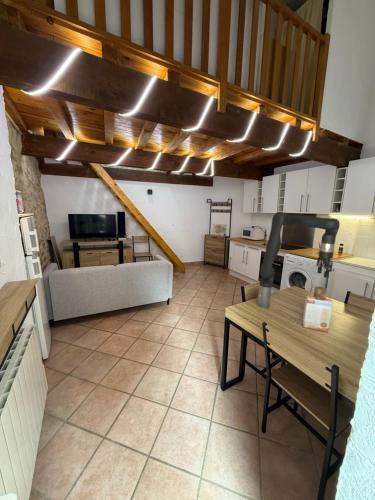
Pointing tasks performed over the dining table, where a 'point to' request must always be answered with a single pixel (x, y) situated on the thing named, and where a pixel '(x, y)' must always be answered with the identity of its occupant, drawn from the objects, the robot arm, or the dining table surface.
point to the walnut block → (320, 293)
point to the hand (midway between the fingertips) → (322, 275)
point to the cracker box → (317, 313)
